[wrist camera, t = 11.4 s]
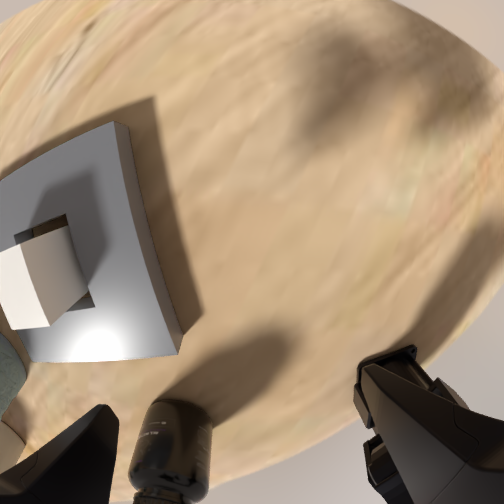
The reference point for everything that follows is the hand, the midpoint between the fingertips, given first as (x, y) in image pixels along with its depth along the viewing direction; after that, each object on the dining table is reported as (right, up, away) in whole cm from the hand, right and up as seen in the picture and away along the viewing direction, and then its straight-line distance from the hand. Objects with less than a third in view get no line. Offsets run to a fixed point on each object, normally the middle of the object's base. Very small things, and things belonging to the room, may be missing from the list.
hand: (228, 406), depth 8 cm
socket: (-14, +4, +10) cm, 18 cm away
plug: (-14, +4, +10) cm, 18 cm away
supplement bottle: (-7, -12, +15) cm, 20 cm away
